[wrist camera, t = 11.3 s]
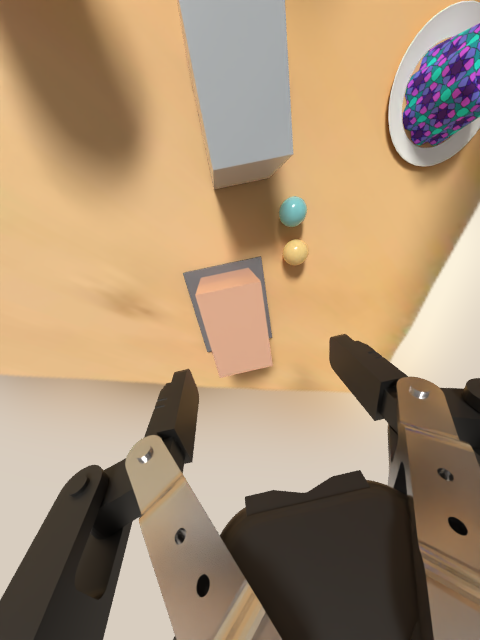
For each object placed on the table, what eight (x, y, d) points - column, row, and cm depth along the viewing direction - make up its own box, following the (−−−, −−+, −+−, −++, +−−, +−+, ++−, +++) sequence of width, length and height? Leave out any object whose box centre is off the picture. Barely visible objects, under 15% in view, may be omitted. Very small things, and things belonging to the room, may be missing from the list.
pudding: (518, 14, 19) (621, -59, 14) (462, 168, 24) (523, 153, 19) (404, 3, 18) (474, -81, 13) (370, 168, 23) (411, 151, 18)
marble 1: (299, 196, 23) (311, 191, 20) (301, 224, 24) (312, 223, 21) (274, 201, 23) (282, 197, 20) (277, 229, 24) (285, 229, 21)
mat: (260, 256, 25) (261, 256, 25) (271, 336, 30) (272, 337, 30) (183, 272, 25) (182, 273, 24) (207, 350, 30) (207, 352, 29)
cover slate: (255, 43, 17) (280, -77, 11) (268, 178, 22) (293, 154, 15) (186, 56, 17) (167, -58, 10) (213, 189, 21) (213, 170, 15)
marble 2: (301, 236, 25) (312, 237, 22) (302, 260, 26) (313, 264, 23) (278, 241, 24) (286, 242, 22) (280, 265, 26) (288, 269, 23)
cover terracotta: (248, 267, 25) (260, 281, 18) (259, 334, 29) (272, 365, 22) (200, 277, 25) (195, 295, 18) (218, 343, 29) (219, 377, 22)
